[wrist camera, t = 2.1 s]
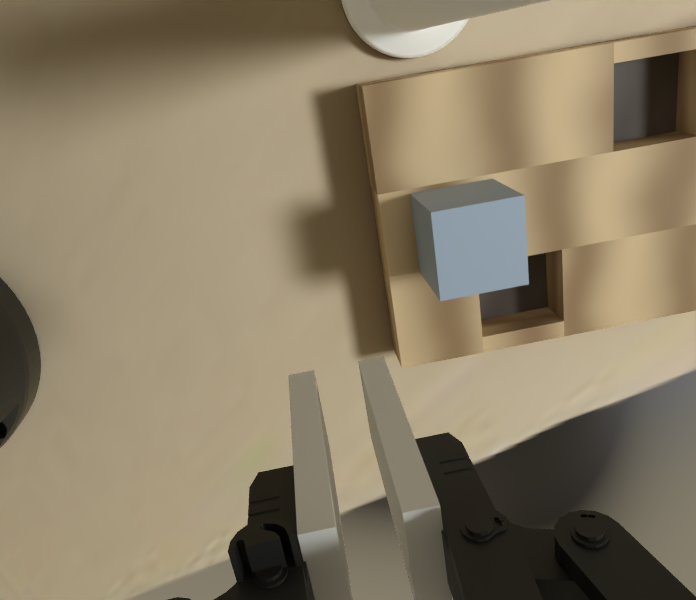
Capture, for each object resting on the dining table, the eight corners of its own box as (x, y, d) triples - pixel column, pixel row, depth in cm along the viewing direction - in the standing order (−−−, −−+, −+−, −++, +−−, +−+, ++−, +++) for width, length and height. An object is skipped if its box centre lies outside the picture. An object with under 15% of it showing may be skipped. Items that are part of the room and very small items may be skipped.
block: (419, 272, 34) (440, 301, 30) (410, 193, 33) (430, 212, 28) (497, 257, 34) (528, 284, 30) (492, 178, 33) (524, 195, 29)
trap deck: (393, 349, 39) (414, 398, 33) (355, 84, 33) (373, 88, 27) (754, 279, 40) (833, 314, 34) (781, 10, 34) (881, 0, 28)
